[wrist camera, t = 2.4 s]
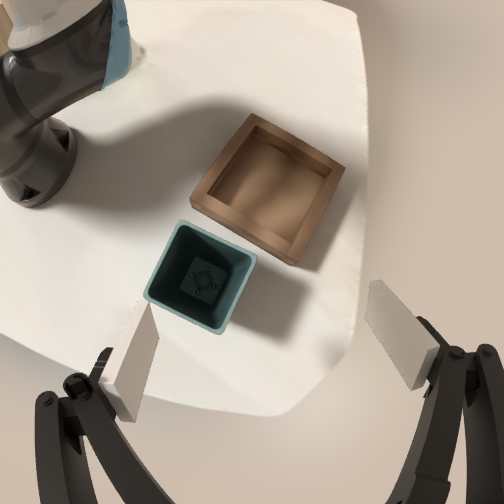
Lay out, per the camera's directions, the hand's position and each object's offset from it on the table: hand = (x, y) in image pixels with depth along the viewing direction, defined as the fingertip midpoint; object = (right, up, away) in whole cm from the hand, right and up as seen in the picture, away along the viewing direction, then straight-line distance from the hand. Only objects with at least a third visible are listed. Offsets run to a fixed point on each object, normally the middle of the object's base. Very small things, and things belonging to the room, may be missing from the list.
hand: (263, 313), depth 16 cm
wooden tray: (+2, +12, +23) cm, 26 cm away
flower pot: (-7, 0, +20) cm, 21 cm away
